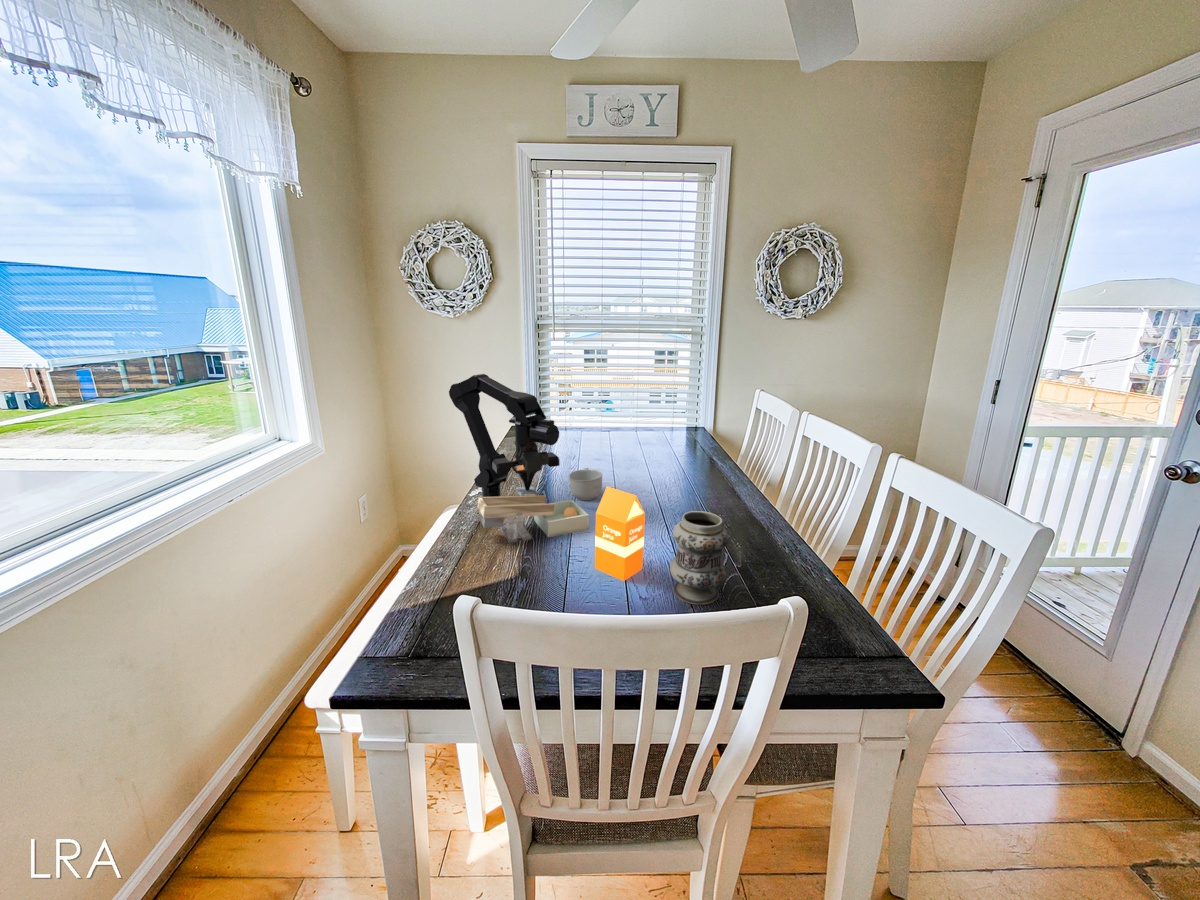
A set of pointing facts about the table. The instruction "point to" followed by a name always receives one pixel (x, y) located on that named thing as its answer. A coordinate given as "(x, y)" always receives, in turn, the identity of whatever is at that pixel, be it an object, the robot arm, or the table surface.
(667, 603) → the table surface
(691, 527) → the apothecary jar
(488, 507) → the lever
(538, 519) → the bin
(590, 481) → the teacup
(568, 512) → the ball
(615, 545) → the orange juice
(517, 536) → the pivot stand
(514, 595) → the table surface
